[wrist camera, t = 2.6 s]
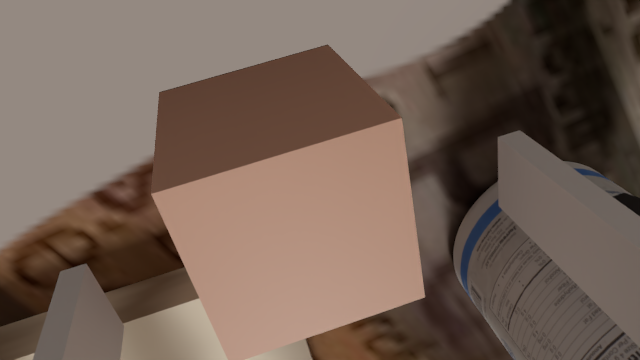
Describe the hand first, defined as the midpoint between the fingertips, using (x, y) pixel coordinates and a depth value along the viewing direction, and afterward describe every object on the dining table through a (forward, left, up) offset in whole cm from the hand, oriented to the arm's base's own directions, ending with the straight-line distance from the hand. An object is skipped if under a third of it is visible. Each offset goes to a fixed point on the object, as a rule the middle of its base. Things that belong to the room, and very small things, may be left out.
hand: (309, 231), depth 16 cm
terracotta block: (0, 0, -7) cm, 7 cm away
